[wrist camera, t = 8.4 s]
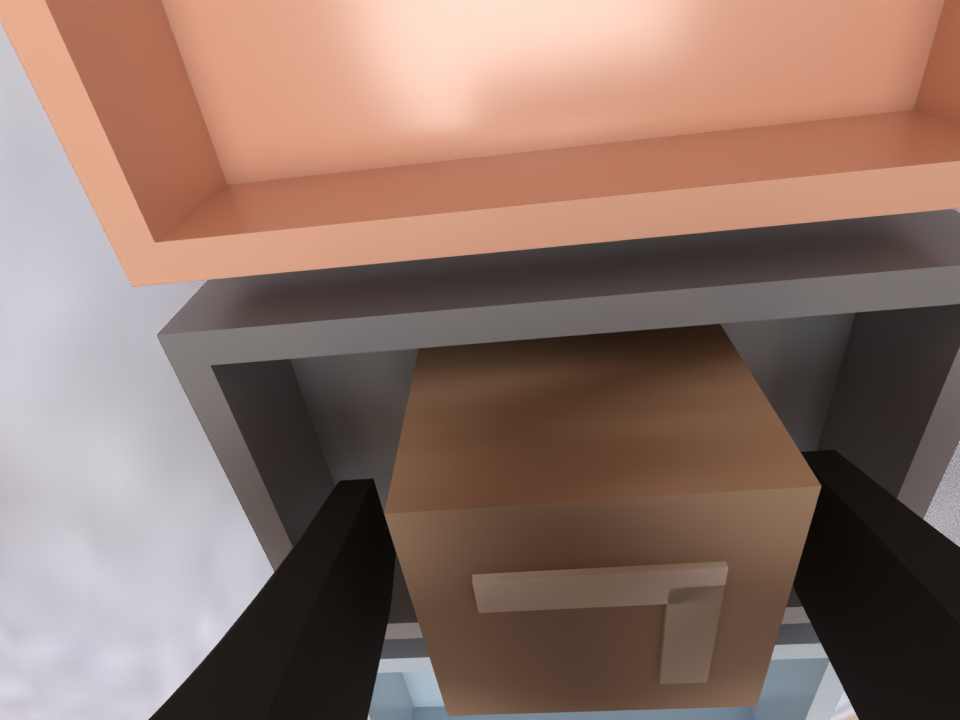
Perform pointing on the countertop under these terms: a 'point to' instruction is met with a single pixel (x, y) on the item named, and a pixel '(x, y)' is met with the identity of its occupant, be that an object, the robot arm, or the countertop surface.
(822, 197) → the dish terracotta
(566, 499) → the letter cube
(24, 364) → the countertop surface
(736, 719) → the dish blue
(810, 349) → the dish charcoal
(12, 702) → the countertop surface
